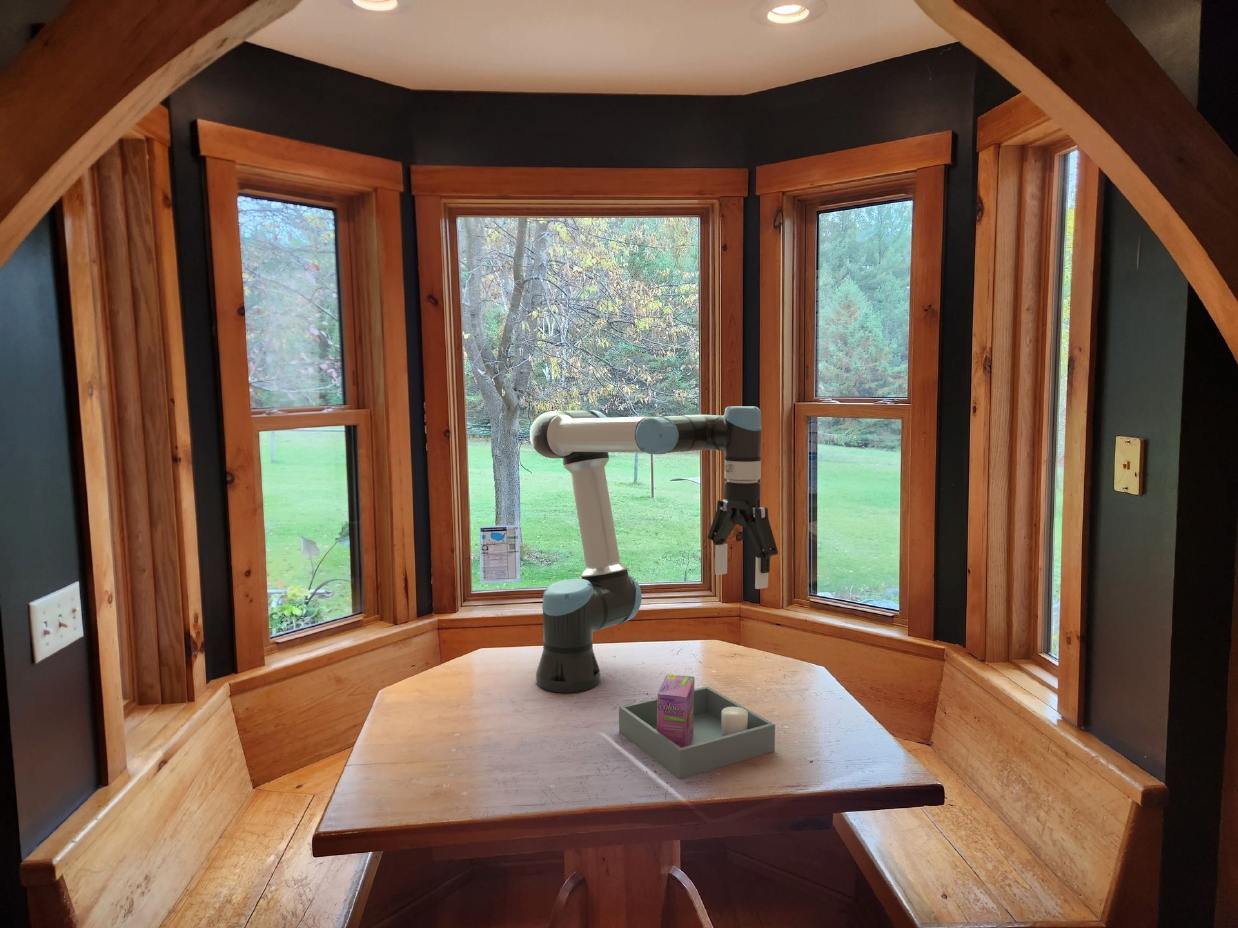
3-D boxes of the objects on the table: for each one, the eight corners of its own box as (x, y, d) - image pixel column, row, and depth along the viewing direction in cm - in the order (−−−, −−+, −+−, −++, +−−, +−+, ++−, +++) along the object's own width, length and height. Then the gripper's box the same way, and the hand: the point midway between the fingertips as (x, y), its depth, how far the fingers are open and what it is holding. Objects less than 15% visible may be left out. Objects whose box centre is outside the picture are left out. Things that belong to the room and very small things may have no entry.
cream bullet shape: (716, 739, 152) (716, 709, 151) (736, 733, 154) (736, 704, 154) (731, 749, 148) (732, 719, 147) (752, 743, 150) (753, 713, 149)
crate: (619, 735, 155) (619, 706, 155) (707, 713, 166) (707, 686, 165) (679, 783, 137) (679, 750, 136) (774, 754, 147) (775, 724, 147)
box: (686, 757, 144) (686, 696, 143) (656, 754, 146) (656, 693, 145) (694, 733, 154) (694, 676, 153) (666, 730, 156) (666, 673, 155)
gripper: (692, 475, 171) (691, 570, 173) (767, 488, 149) (765, 596, 151) (720, 473, 174) (719, 566, 176) (797, 486, 153) (794, 591, 155)
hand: (740, 580), depth 164 cm, fingers open, 13 cm apart
